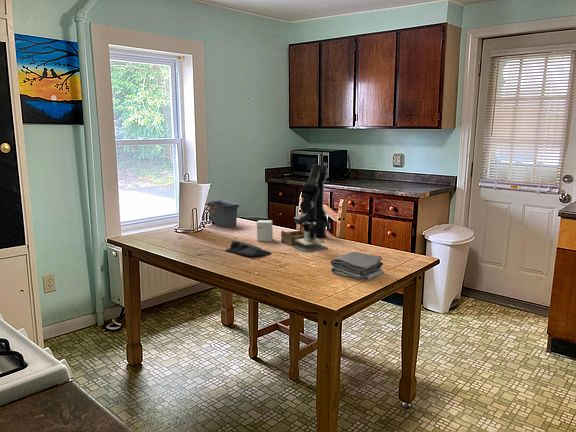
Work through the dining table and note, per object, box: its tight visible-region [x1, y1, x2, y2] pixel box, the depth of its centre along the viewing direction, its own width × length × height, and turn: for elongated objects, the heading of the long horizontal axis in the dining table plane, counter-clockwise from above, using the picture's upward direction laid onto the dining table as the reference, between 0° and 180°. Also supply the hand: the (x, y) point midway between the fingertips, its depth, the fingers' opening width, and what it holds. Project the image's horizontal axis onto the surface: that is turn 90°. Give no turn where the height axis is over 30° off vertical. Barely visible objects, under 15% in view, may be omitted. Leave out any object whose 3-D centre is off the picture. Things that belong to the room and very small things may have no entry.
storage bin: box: [206, 199, 240, 228], centre depth 289 cm, size 21×16×14 cm
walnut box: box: [280, 227, 305, 247], centre depth 246 cm, size 13×11×6 cm
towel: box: [330, 251, 384, 282], centre depth 194 cm, size 15×18×8 cm
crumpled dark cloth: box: [225, 240, 272, 258], centre depth 228 cm, size 15×22×5 cm
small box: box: [256, 219, 274, 242], centre depth 251 cm, size 8×6×10 cm
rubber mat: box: [291, 243, 329, 253], centre depth 236 cm, size 14×12×1 cm
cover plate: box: [295, 231, 325, 245], centre depth 235 cm, size 11×10×5 cm
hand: (309, 238), depth 235 cm, fingers closed on cover plate, 3 cm apart
